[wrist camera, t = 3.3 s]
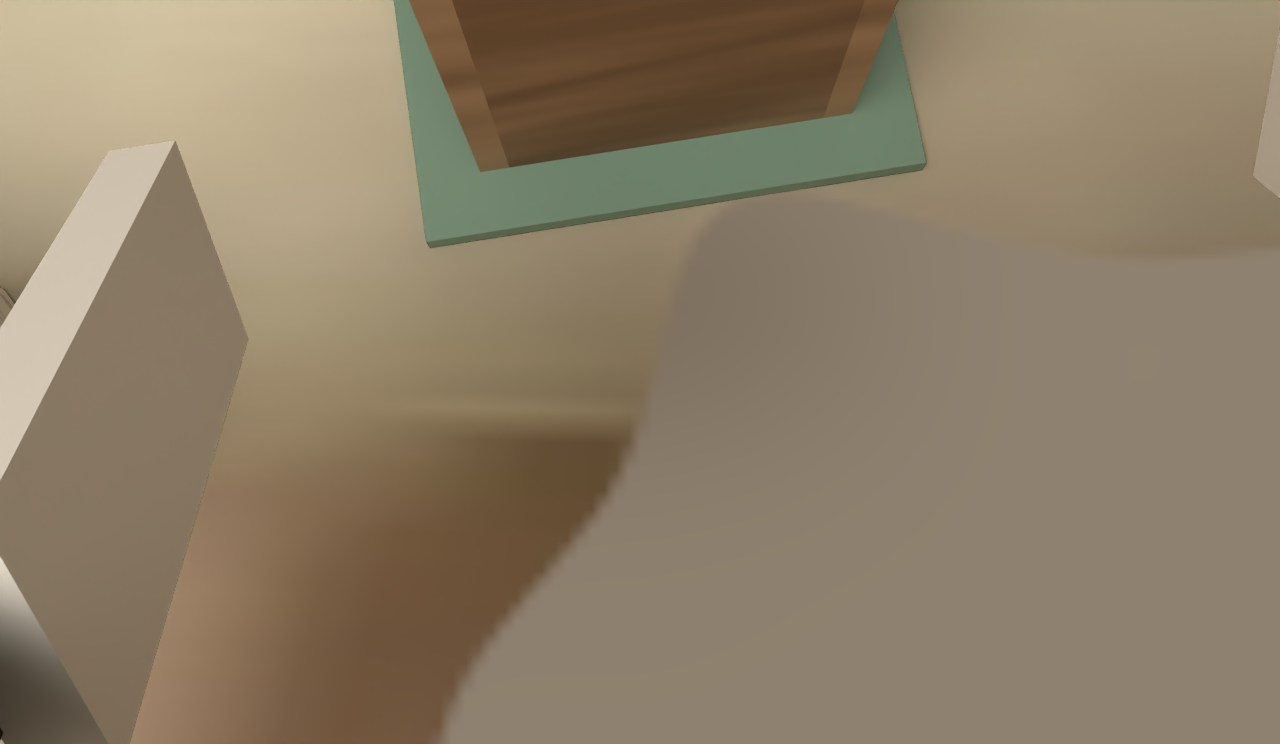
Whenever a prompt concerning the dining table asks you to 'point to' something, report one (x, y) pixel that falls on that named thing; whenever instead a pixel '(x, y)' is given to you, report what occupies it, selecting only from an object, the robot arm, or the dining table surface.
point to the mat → (646, 157)
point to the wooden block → (642, 69)
